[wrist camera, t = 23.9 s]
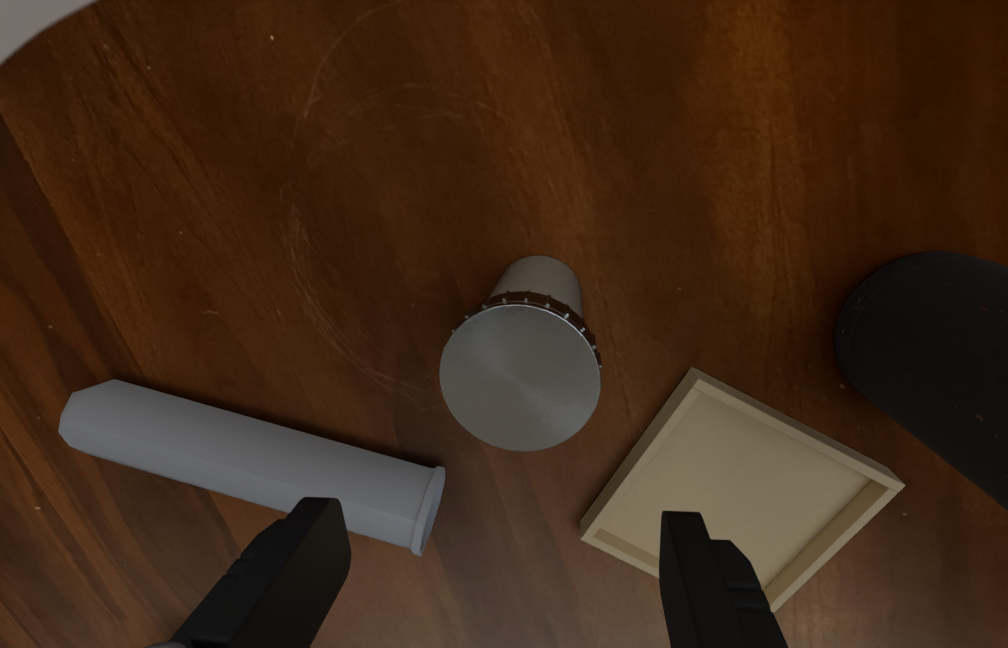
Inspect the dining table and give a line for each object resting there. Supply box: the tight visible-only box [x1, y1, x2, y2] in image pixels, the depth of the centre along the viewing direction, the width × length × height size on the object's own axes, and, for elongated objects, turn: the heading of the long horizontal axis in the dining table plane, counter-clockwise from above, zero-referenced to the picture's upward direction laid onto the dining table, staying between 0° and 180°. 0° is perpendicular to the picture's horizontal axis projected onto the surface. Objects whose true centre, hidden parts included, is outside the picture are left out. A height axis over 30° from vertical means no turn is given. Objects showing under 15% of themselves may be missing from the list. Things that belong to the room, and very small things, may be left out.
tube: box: [59, 379, 445, 556], centre depth 32 cm, size 5×5×25 cm
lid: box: [439, 290, 602, 451], centre depth 18 cm, size 6×6×2 cm
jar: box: [490, 255, 584, 318], centre depth 23 cm, size 5×5×10 cm
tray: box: [580, 367, 905, 613], centre depth 30 cm, size 13×13×2 cm
